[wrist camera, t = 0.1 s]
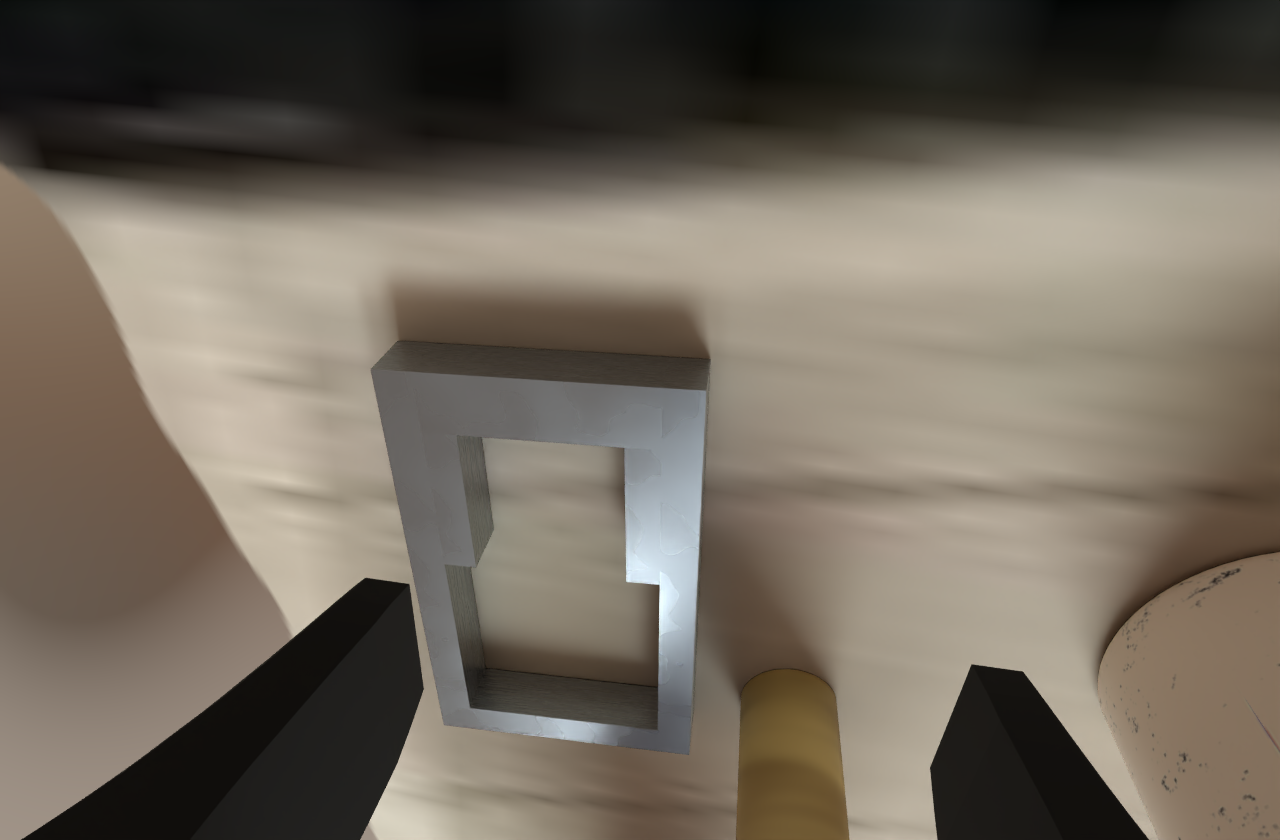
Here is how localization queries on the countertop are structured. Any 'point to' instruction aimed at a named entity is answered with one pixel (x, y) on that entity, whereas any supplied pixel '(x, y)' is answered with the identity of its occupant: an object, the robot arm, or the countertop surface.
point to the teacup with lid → (1202, 703)
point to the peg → (790, 760)
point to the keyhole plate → (462, 523)
